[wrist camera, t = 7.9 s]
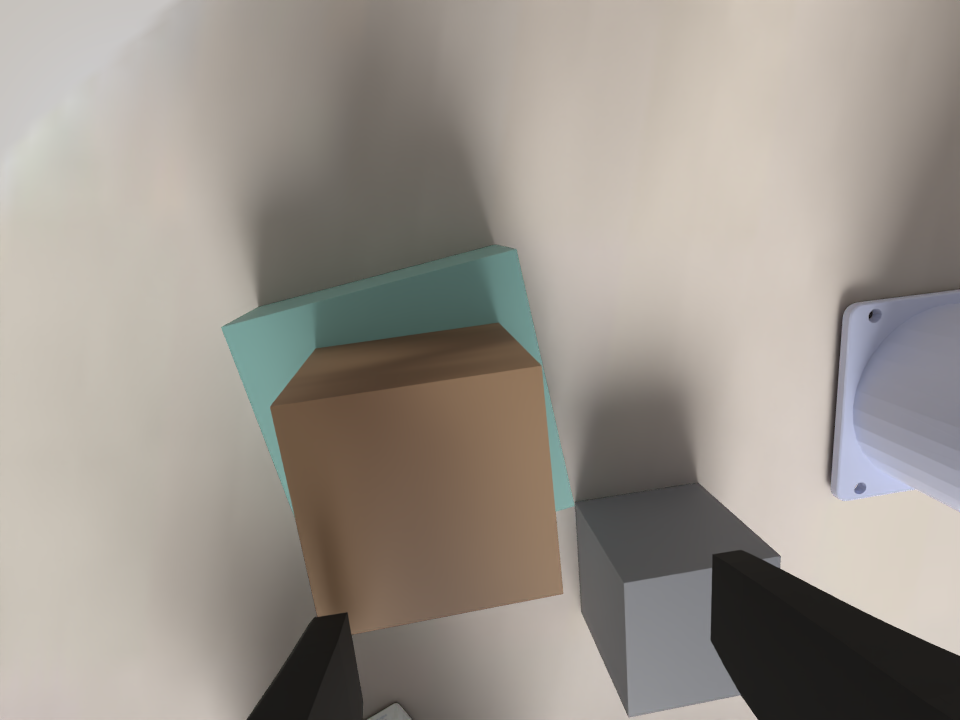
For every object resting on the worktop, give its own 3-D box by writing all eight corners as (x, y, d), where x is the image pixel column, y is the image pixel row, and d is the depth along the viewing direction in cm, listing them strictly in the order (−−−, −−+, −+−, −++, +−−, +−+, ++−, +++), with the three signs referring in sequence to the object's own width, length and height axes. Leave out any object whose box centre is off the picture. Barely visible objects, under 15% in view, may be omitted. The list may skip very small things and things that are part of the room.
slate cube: (697, 481, 21) (780, 556, 17) (696, 590, 23) (774, 688, 18) (574, 501, 21) (623, 583, 16) (580, 610, 22) (628, 717, 17)
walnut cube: (498, 322, 15) (541, 365, 10) (517, 486, 16) (563, 593, 11) (315, 348, 15) (269, 406, 10) (348, 515, 16) (322, 640, 11)
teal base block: (493, 244, 18) (516, 249, 15) (543, 453, 21) (574, 506, 17) (261, 305, 18) (221, 327, 14) (336, 513, 20) (319, 581, 16)
